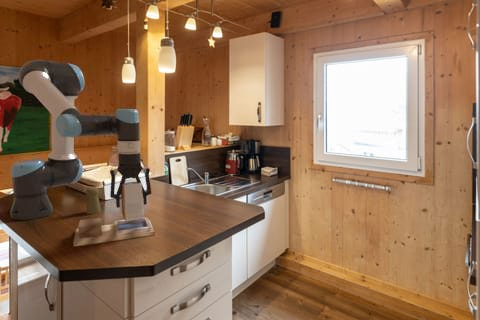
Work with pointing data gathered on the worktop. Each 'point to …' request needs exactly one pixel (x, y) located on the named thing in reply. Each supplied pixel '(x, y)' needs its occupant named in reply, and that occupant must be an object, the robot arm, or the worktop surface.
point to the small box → (132, 200)
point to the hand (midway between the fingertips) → (132, 214)
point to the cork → (93, 201)
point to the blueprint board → (111, 231)
